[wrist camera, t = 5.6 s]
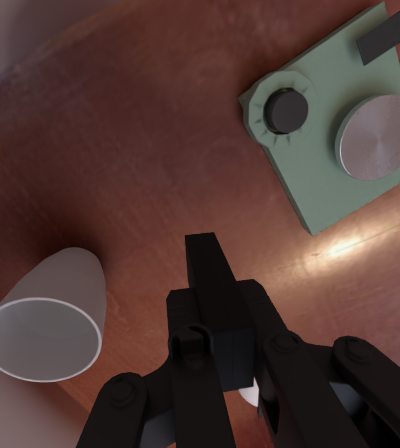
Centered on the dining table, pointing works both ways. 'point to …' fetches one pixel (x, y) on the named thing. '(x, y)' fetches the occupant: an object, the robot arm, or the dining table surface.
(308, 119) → the scale
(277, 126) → the button
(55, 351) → the cup
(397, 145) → the pan
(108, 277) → the dining table surface
